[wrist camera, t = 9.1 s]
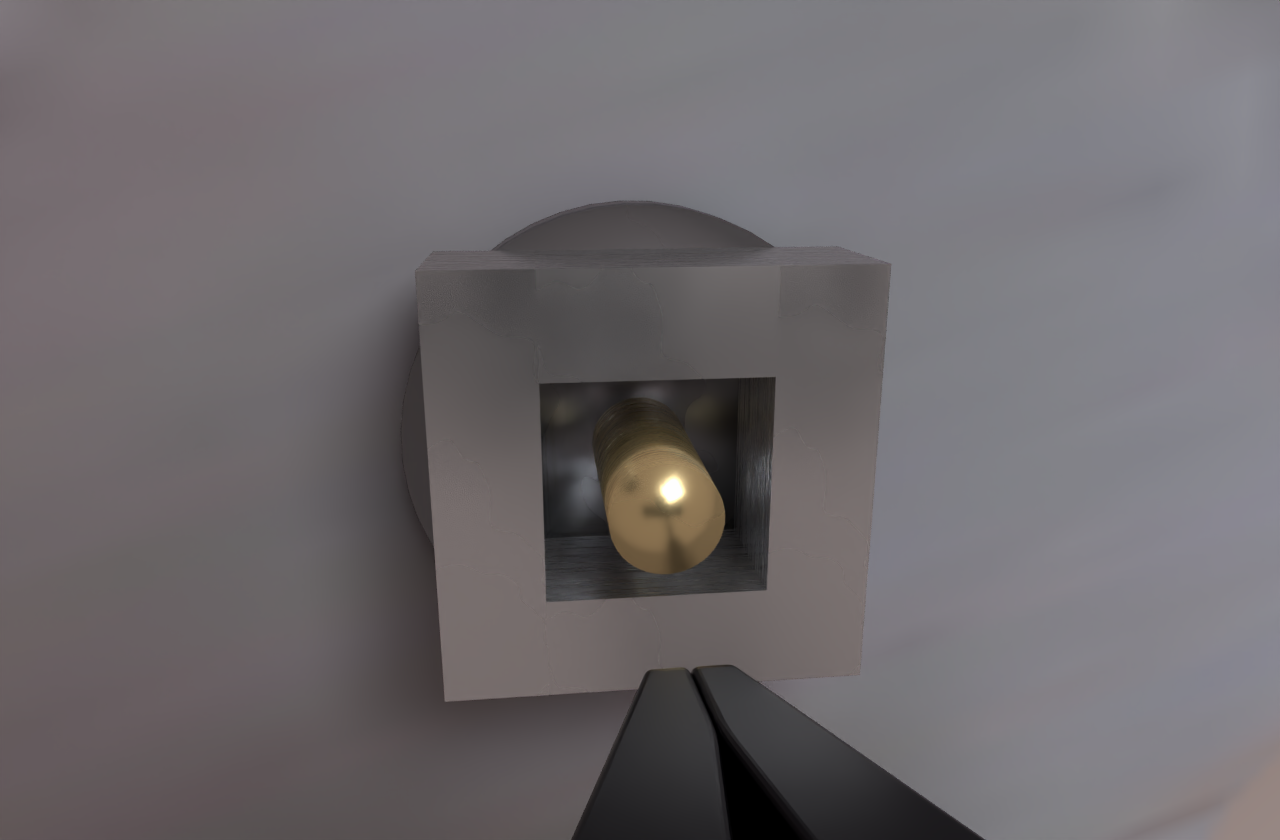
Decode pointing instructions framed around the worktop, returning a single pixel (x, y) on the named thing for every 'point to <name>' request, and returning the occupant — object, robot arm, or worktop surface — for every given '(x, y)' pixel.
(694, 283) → the square frame block
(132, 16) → the worktop surface
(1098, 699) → the worktop surface
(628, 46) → the worktop surface
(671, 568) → the hub
